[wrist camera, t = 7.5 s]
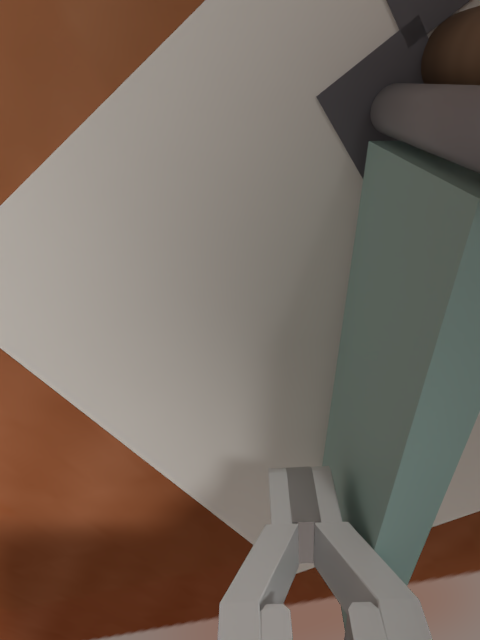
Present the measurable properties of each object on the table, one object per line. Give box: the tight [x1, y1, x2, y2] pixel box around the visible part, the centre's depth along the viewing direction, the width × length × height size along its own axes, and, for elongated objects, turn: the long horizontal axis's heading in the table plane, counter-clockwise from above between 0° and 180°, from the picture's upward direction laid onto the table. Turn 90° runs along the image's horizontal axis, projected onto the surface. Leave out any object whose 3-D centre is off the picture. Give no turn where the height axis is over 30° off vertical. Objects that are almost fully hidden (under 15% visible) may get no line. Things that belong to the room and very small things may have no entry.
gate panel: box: [322, 83, 480, 630], centre depth 9 cm, size 13×1×6 cm, turn 1°
